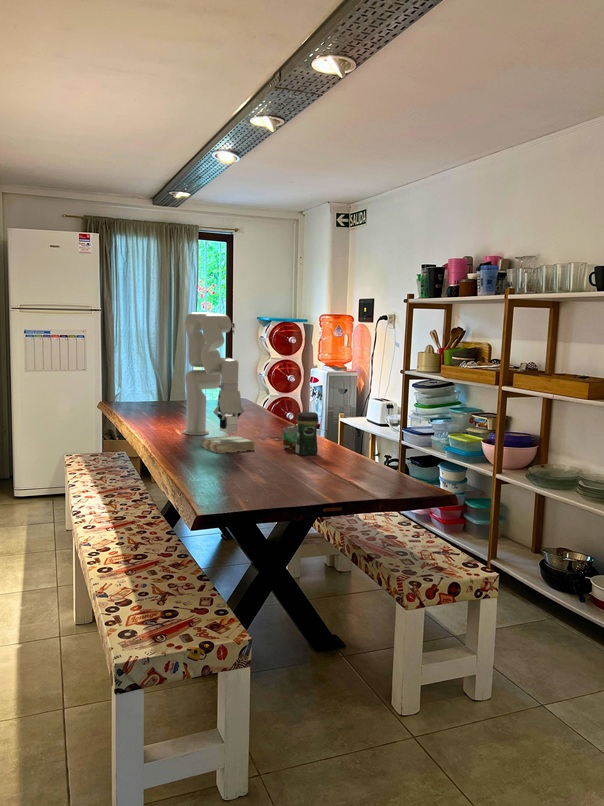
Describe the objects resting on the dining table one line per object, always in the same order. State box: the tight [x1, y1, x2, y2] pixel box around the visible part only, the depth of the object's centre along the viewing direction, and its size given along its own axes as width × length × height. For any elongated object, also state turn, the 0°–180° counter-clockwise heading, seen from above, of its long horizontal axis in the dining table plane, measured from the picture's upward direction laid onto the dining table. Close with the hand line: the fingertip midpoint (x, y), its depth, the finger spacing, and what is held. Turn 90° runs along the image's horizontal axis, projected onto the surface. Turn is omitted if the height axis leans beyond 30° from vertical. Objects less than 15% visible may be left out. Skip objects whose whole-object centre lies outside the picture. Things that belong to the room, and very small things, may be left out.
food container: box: [282, 423, 298, 450], centre depth 300 cm, size 12×6×10 cm, turn 168°
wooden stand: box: [201, 435, 255, 454], centre depth 293 cm, size 16×18×4 cm
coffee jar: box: [294, 411, 319, 456], centre depth 287 cm, size 10×8×19 cm
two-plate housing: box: [219, 414, 239, 434], centre depth 291 cm, size 5×7×7 cm
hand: (228, 427), depth 291 cm, fingers closed on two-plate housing, 5 cm apart
